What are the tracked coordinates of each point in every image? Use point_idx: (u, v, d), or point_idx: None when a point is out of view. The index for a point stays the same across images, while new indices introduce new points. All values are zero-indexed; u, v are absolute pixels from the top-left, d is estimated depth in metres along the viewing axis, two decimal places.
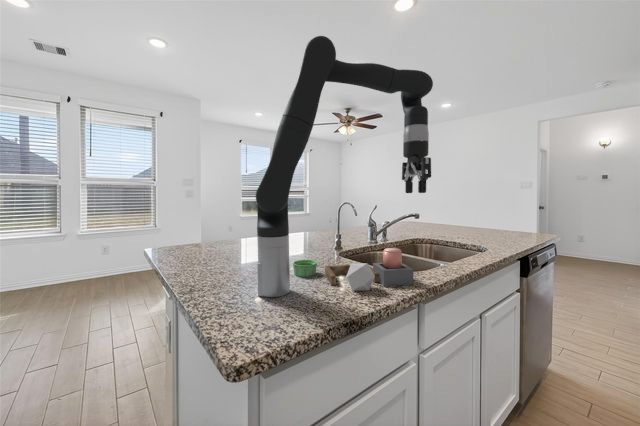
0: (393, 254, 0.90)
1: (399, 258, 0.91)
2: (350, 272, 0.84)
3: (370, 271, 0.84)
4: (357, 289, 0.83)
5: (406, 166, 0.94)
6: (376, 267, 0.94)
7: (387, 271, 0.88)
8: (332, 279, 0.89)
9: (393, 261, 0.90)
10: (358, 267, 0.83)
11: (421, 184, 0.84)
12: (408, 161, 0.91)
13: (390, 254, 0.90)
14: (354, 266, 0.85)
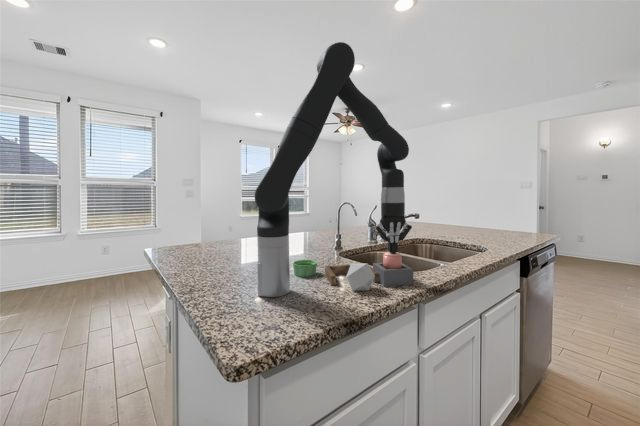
0: (393, 258, 0.90)
1: (399, 262, 0.91)
2: (350, 272, 0.84)
3: (370, 271, 0.84)
4: (357, 289, 0.83)
5: (380, 227, 0.91)
6: (376, 267, 0.94)
7: (387, 271, 0.88)
8: (332, 279, 0.89)
9: (393, 265, 0.90)
10: (358, 267, 0.83)
11: (396, 246, 0.92)
12: (384, 219, 0.91)
13: (390, 258, 0.90)
14: (354, 266, 0.85)
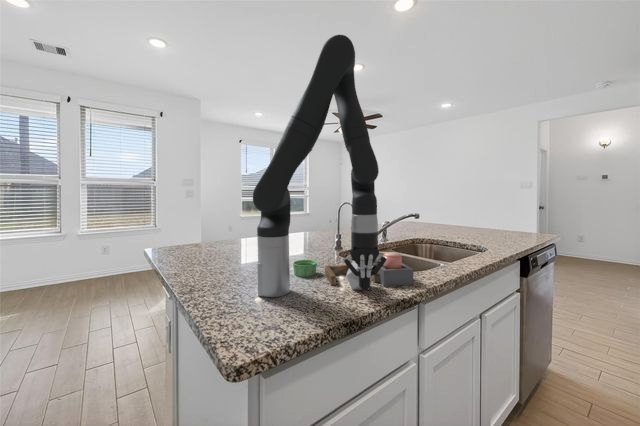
0: (393, 259, 0.90)
1: (399, 263, 0.91)
2: (349, 271, 0.85)
3: None
4: (356, 288, 0.84)
5: (350, 260, 0.79)
6: None
7: (387, 271, 0.88)
8: (332, 279, 0.89)
9: (393, 266, 0.90)
10: (357, 266, 0.84)
11: (368, 281, 0.80)
12: (354, 251, 0.79)
13: (390, 259, 0.90)
14: (353, 265, 0.86)
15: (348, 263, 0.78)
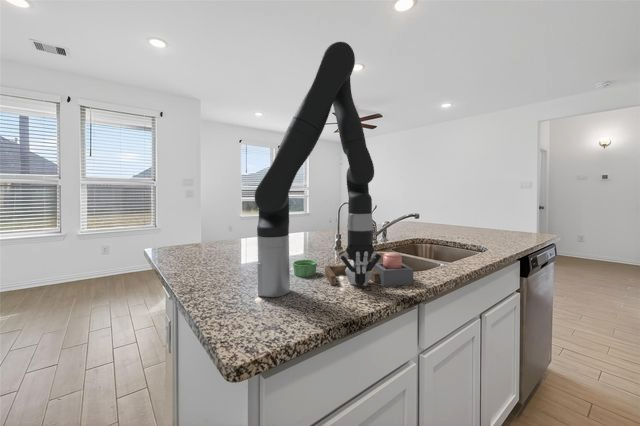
0: (393, 259, 0.90)
1: (399, 263, 0.91)
2: None
3: None
4: (354, 283, 0.89)
5: (346, 257, 0.84)
6: (376, 267, 0.94)
7: (387, 271, 0.88)
8: (332, 279, 0.89)
9: (393, 266, 0.90)
10: None
11: (364, 277, 0.84)
12: (350, 248, 0.83)
13: (390, 259, 0.90)
14: (352, 261, 0.90)
15: (344, 259, 0.83)
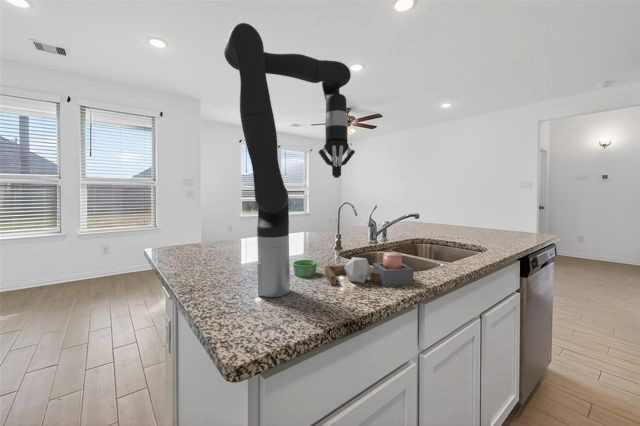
0: (393, 259, 0.90)
1: (399, 263, 0.91)
2: (347, 264, 0.93)
3: (364, 265, 0.90)
4: (352, 280, 0.92)
5: (324, 151, 0.95)
6: (376, 267, 0.94)
7: (387, 271, 0.88)
8: (332, 279, 0.89)
9: (393, 266, 0.90)
10: (353, 260, 0.92)
11: (340, 170, 0.96)
12: (327, 143, 0.95)
13: (390, 259, 0.90)
14: (352, 259, 0.94)
15: (322, 153, 0.94)
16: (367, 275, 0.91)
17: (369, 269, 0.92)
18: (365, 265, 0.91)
